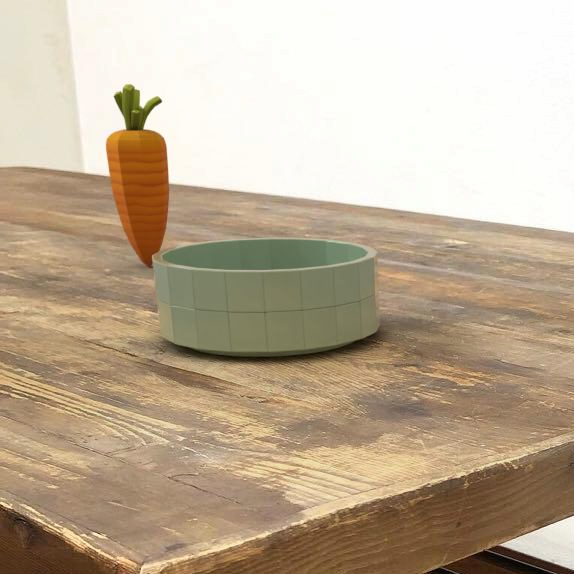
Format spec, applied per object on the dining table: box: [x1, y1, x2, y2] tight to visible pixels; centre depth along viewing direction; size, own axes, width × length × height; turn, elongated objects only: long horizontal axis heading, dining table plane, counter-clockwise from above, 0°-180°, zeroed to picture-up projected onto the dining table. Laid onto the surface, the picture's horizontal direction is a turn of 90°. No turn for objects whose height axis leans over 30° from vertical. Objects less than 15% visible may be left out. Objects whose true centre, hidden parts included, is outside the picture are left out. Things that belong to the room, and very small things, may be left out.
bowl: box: [152, 237, 381, 358], centre depth 81 cm, size 14×14×6 cm
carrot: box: [105, 83, 170, 268], centre depth 105 cm, size 5×5×15 cm
